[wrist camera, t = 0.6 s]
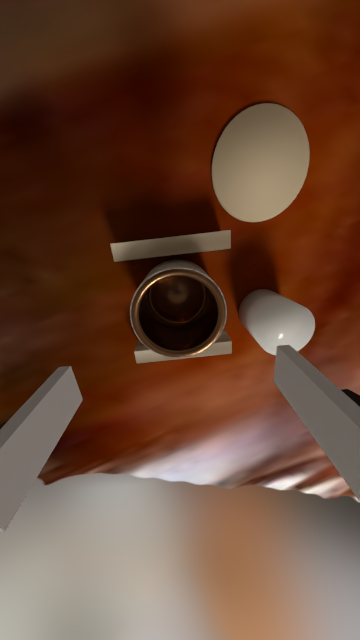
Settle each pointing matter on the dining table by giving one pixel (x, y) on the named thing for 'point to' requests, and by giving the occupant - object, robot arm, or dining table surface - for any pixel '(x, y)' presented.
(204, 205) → the dining table surface
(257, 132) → the mat
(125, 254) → the cradle
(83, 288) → the dining table surface
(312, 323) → the white cylinder
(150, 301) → the planter
